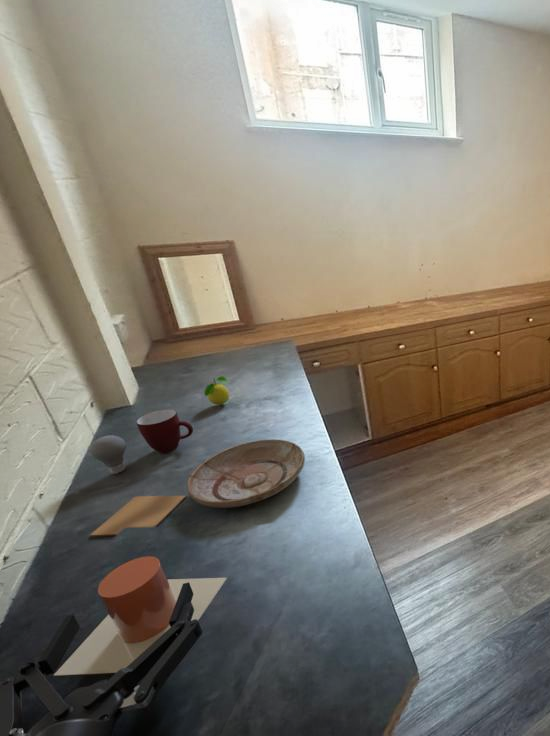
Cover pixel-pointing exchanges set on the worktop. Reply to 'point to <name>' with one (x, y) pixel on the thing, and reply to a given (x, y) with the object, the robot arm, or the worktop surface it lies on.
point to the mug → (162, 429)
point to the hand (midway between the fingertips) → (133, 604)
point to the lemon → (217, 392)
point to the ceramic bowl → (246, 473)
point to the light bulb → (110, 452)
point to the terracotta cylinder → (138, 599)
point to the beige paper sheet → (114, 654)
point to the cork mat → (139, 514)
